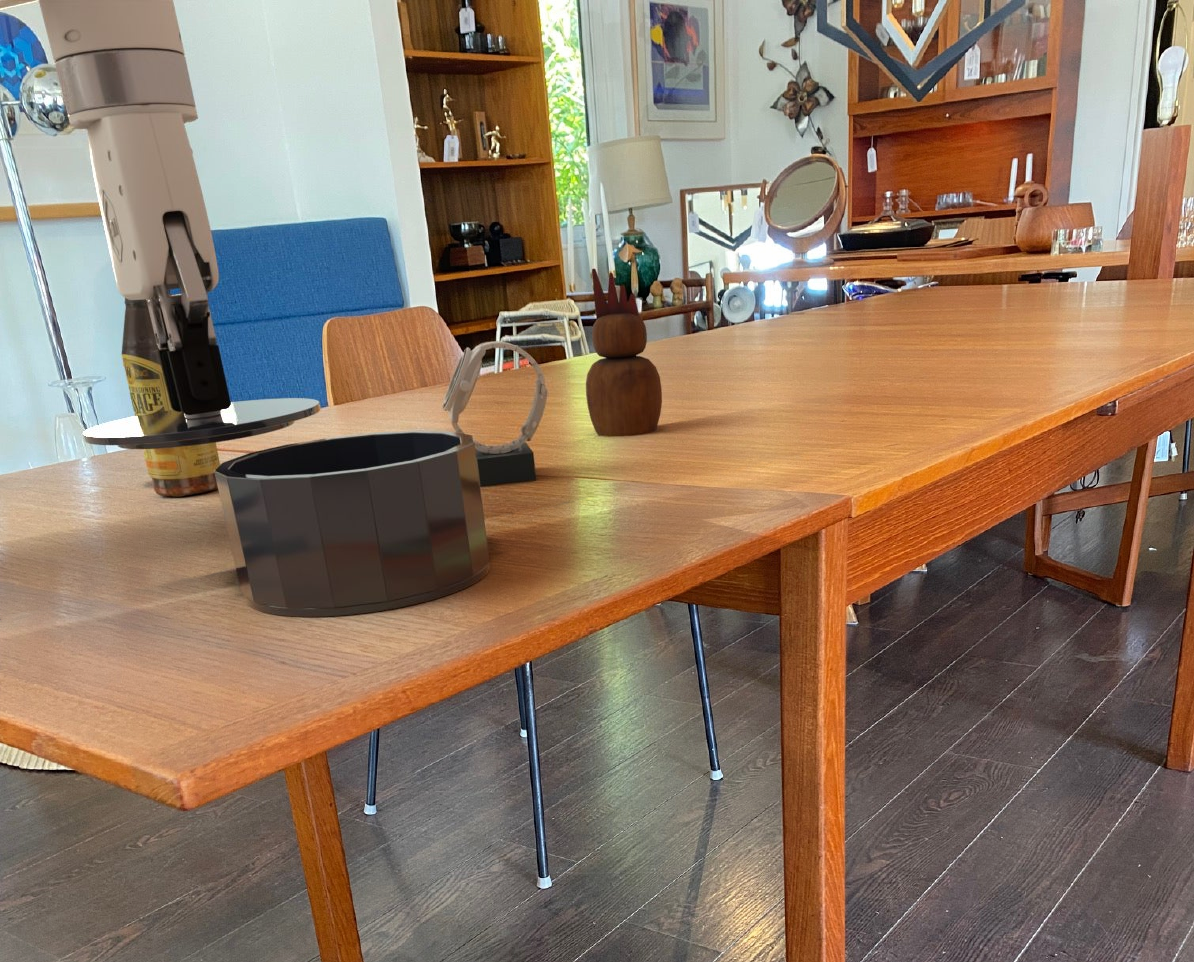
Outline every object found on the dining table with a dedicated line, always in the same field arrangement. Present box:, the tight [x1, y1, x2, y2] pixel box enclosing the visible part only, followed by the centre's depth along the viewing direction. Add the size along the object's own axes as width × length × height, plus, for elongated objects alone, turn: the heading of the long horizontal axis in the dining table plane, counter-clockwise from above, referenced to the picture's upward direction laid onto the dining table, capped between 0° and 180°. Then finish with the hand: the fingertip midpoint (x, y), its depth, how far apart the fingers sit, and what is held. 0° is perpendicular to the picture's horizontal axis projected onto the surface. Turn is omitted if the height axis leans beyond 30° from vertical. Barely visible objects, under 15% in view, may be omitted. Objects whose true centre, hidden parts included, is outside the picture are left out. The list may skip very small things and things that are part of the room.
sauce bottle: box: [120, 289, 221, 498], centre depth 100 cm, size 6×6×20 cm
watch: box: [442, 340, 548, 488], centre depth 90 cm, size 6×8×11 cm
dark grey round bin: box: [214, 429, 491, 618], centre depth 68 cm, size 15×15×8 cm
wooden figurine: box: [585, 268, 663, 437], centre depth 105 cm, size 7×6×15 cm
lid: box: [82, 340, 322, 450], centre depth 78 cm, size 16×16×6 cm
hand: (201, 407), depth 79 cm, fingers closed on lid, 2 cm apart
